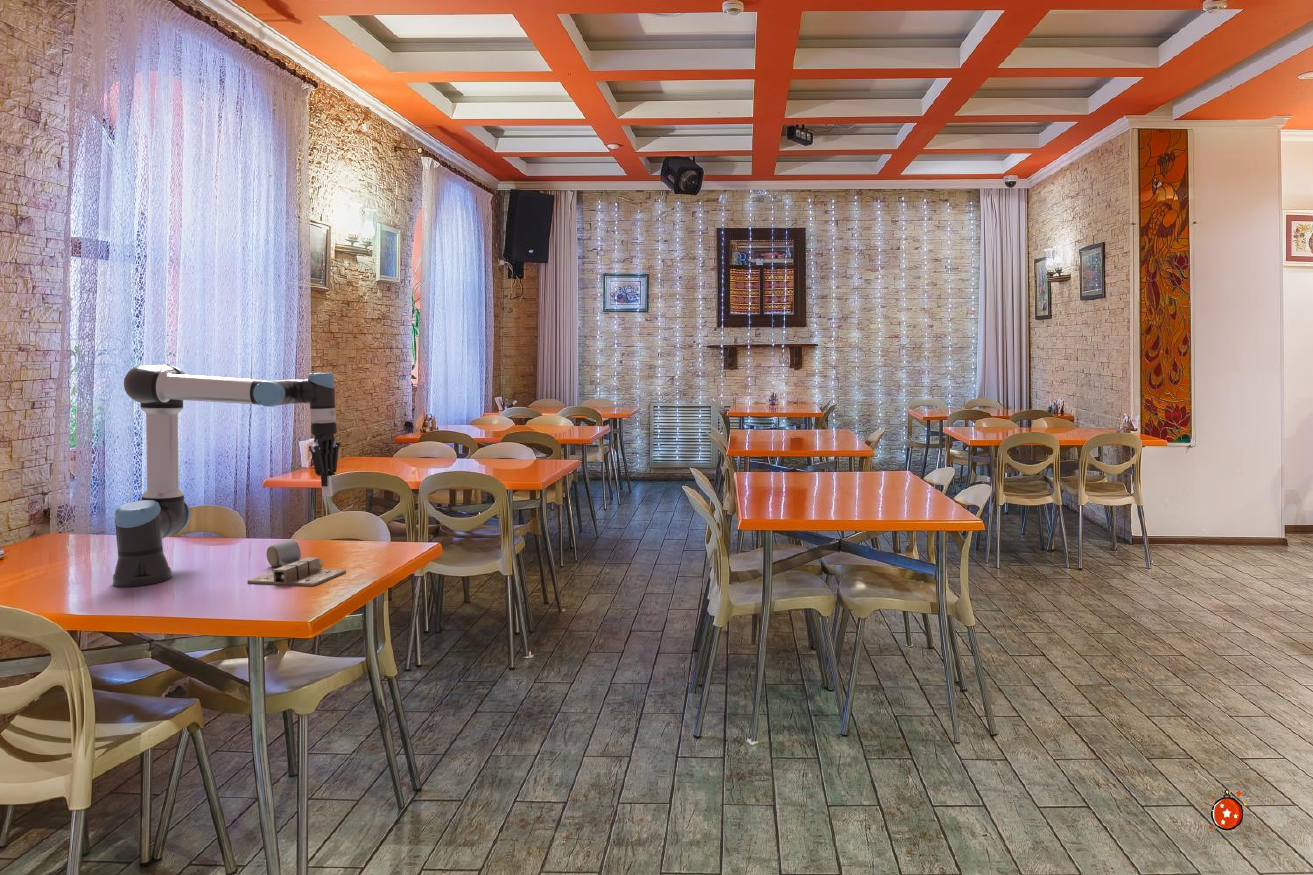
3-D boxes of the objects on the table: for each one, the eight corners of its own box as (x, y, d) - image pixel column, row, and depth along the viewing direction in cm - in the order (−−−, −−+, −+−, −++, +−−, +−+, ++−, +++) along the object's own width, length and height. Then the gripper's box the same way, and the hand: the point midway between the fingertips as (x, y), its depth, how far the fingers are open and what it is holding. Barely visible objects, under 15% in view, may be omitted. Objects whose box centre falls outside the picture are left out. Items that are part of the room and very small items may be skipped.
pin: (287, 583, 248) (286, 571, 248) (277, 582, 249) (276, 571, 249) (323, 569, 265) (323, 558, 265) (314, 568, 266) (313, 558, 266)
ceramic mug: (265, 566, 272) (264, 542, 271) (289, 560, 278) (288, 537, 278) (283, 571, 266) (281, 546, 265) (307, 565, 272) (306, 542, 271)
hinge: (313, 586, 245) (312, 571, 245) (247, 583, 250) (246, 568, 250) (345, 572, 261) (345, 558, 260) (283, 570, 266) (282, 556, 265)
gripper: (321, 423, 261) (325, 499, 263) (346, 420, 273) (350, 493, 275) (299, 423, 262) (304, 499, 265) (325, 420, 275) (329, 492, 277)
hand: (327, 496), depth 270 cm, fingers closed
